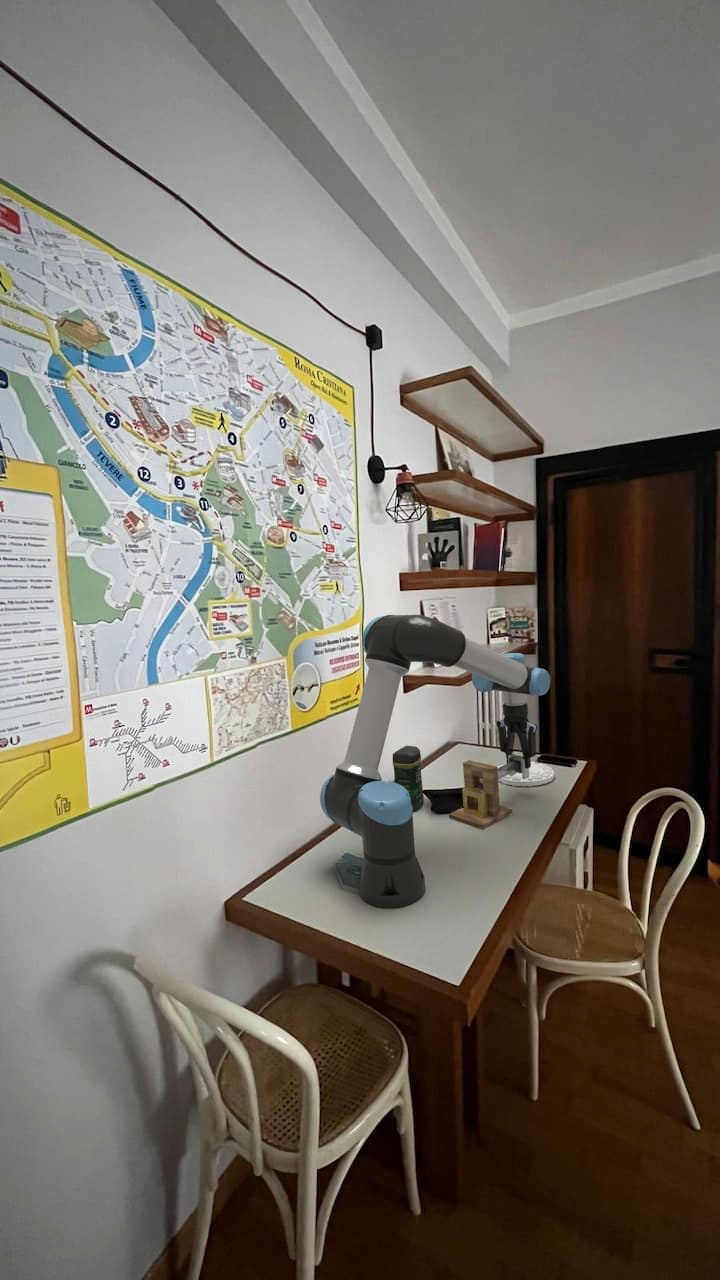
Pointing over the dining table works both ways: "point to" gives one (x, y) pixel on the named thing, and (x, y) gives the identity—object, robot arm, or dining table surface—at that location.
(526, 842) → the dining table surface
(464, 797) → the spacer
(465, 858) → the dining table surface
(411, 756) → the coffee jar
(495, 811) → the bracket
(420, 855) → the dining table surface
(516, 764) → the shaft
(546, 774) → the giant coin
